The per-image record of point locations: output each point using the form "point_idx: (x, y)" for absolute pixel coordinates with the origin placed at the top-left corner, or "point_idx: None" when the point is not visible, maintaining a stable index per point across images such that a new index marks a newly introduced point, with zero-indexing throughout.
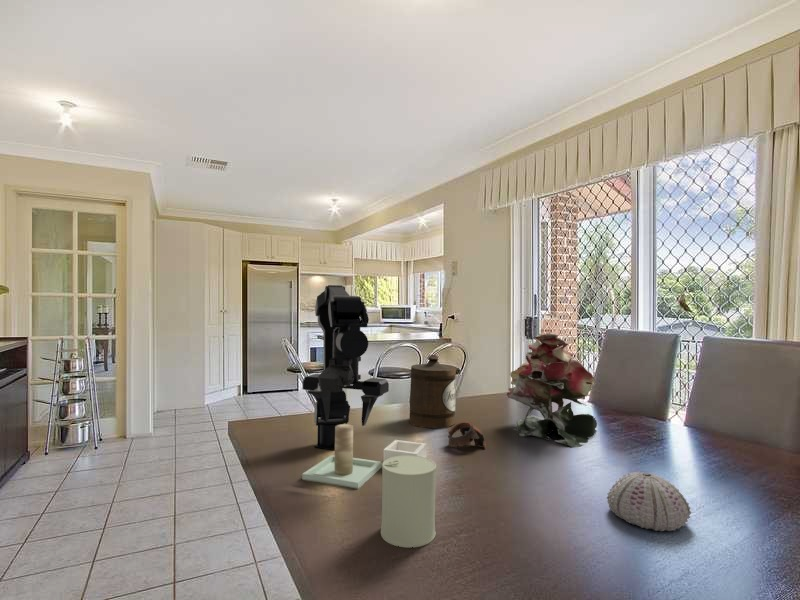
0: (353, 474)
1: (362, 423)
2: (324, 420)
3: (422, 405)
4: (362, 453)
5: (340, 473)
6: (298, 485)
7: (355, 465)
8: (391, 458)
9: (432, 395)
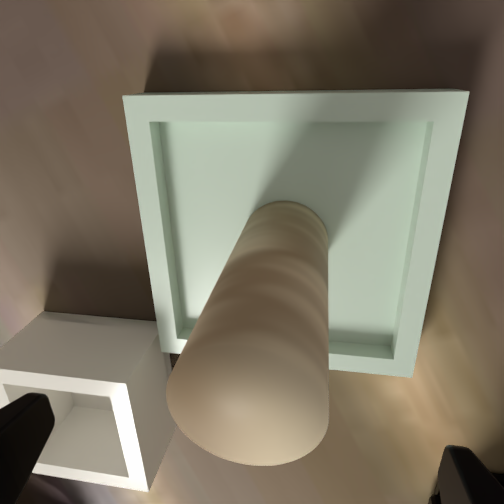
0: (229, 229)
1: (20, 404)
2: (468, 454)
3: None
4: (320, 456)
5: (279, 204)
6: (464, 53)
7: None
8: None
9: None
